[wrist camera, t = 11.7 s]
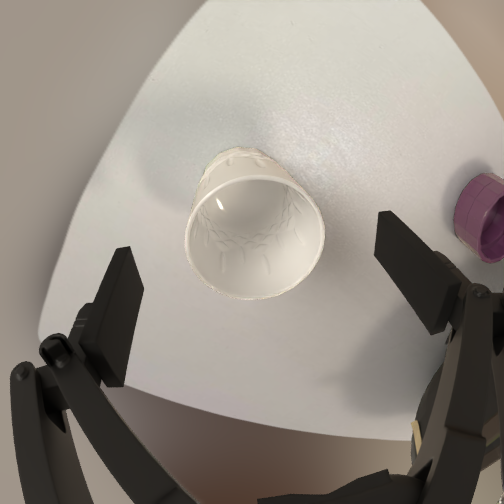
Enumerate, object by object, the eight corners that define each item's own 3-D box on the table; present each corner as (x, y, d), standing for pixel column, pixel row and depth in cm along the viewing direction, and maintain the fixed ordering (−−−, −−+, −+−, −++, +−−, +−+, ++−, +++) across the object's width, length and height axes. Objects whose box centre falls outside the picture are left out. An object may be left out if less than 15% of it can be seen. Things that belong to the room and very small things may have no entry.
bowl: (535, 323, 47) (582, 383, 30) (419, 423, 58) (449, 491, 41) (518, 225, 32) (613, 310, 15) (339, 386, 43) (380, 506, 26)
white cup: (176, 201, 26) (160, 266, 18) (226, 121, 23) (234, 146, 15) (254, 242, 29) (272, 317, 21) (306, 171, 26) (351, 222, 18)
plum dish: (456, 171, 28) (487, 189, 23) (505, 171, 28) (534, 186, 24) (444, 245, 32) (469, 269, 28) (492, 236, 33) (516, 256, 28)
